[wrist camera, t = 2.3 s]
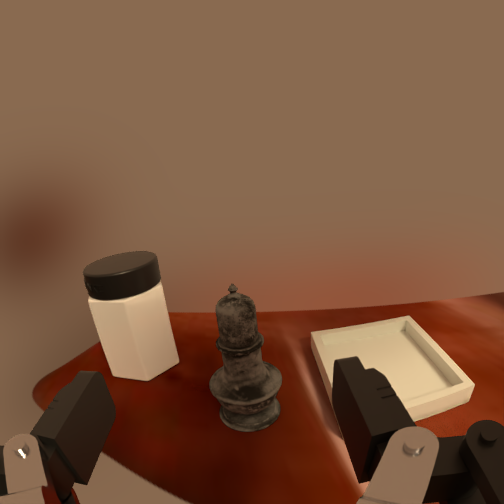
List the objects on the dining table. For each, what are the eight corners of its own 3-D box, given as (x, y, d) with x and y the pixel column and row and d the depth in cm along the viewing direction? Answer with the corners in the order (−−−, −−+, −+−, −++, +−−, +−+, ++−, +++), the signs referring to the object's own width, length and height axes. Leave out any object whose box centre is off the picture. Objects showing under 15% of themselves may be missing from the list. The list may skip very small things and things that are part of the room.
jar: (112, 348, 36) (87, 259, 33) (171, 335, 39) (153, 245, 36) (111, 389, 28) (75, 282, 25) (184, 373, 31) (160, 265, 28)
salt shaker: (250, 381, 29) (235, 265, 26) (298, 405, 25) (292, 277, 22) (202, 412, 25) (173, 288, 22) (249, 445, 21) (227, 310, 18)
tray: (407, 330, 34) (409, 315, 33) (468, 401, 20) (474, 384, 20) (311, 347, 34) (310, 332, 33) (343, 440, 20) (345, 423, 20)
